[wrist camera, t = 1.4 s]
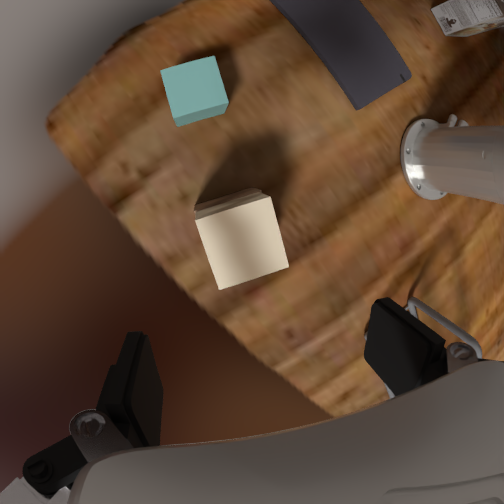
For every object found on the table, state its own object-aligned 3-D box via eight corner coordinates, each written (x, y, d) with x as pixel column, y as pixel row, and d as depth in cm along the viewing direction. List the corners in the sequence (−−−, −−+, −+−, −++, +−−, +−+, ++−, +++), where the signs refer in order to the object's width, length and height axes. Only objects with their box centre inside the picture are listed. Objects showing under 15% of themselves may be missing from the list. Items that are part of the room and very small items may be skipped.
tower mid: (258, 192, 28) (270, 196, 24) (274, 251, 30) (288, 266, 26) (196, 211, 28) (195, 220, 23) (216, 271, 30) (219, 290, 25)
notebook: (260, -7, 26) (354, 111, 33) (262, -12, 24) (360, 109, 31) (325, -27, 26) (407, 78, 32) (329, -31, 24) (413, 76, 31)
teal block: (211, 72, 28) (214, 55, 23) (224, 113, 30) (228, 102, 25) (166, 85, 28) (160, 70, 23) (177, 127, 30) (173, 118, 24)
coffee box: (452, 11, 29) (506, -8, 13) (466, 37, 31) (523, 23, 15) (429, 8, 28) (487, -17, 13) (444, 37, 30) (507, 18, 15)
